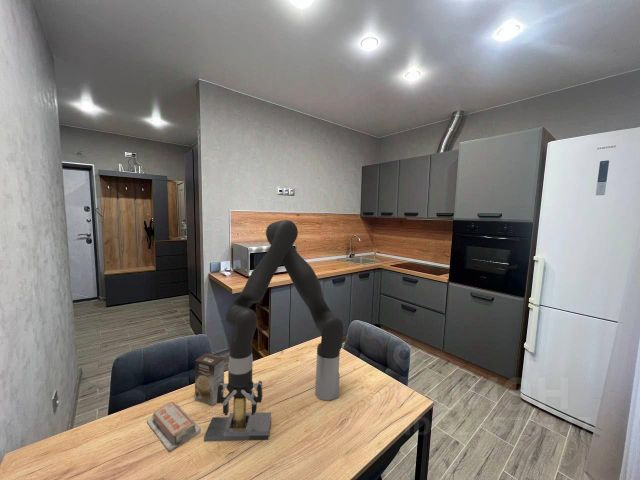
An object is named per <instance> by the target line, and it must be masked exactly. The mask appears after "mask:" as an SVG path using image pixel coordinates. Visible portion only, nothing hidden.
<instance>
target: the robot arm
mask: <svg viewBox="0 0 640 480" xmlns="http://www.w3.org/2000/svg"><path fill="white" fill-rule="evenodd" d="M265 229H266V230H265V236H266V237H265V238H266V240H267V242H268V243H269V245H270V247H269V248H268V250H267V252H266V253H265V254H264V256H263V258H262V259H261V260H259V262H258V263H257V265H256V266H255V268H253V270H252V272H251V273H250V275H249V277H248V279H247V281H246V283H245V285H244V287H243V290H242V291H241V292H240V293H239V294H238V295H237V296H236V297H235V299H234V300H233V301H232V303H231V304H230V305H229V307H228V308H227V311H226V315H225V321H226V323H227V324H228V325H229V326H231V327H232V328H234V329H236V333H235V334H233V335H232V336H231V337H230V339H229V350H228V351H229V357H228V365H227V367H228V376H227V377H228V380H227V383H225V381H224V382H220V384H219V386H218V392H217V403H216V404H222V414H224V416H225V417H228V415H229V411H230V406H229V405H230V401H231V400H232V399H233V398H234V397H235V398H239V397H240V398H244V397H246V400H247V401H248V402H250V403H251V412H250V413H251V415H254V413H257V408H258V404H259V403H262V400H263V396H264V395H263V382H262V380H258V382H254V381H253V364H254V363H253V362H254V361H253V338H254V337H255V332H256V329H257V327H258V317H257V313H256V312H255V310H254V309H251V308H250V307H252V305H253V304H255V303H260V302H261V301H262V300H263V298H264V296H265V294H266V292H267V290H268V287H269V286H270V284H271V282H272V280H273V277H274V276H275V273H276V271H277V270H278V268H279V267H280V265H281V263H282V265H283V267H284V269H285V271H286V272H287V274H288V276H289V278H290V280H291V282H292V284H293V286H294V288H295V289H296V291H297V293H298V295H299V296H300V298H301V299H302V301H303V302H304V304H305V305H306V307H307V308H308V311H309V312H310V314H311V317H312V320H313V322H314V325H315V327H316V329H317V332H319V333H320V334H321V341H320V342H319V343H318V344H317V346H316V347H317V348H316V366H315V367H316V368H315V388H314V389H315V391H314V393H315V396H316V397H317V398H318V399H319V400H321V401H333V400H335V399H339V397H340V396H339V394H340V379H341V377H340V372H339V371H340V355H341V349H342V346H343V338H344V323H343V321H342V319H341V318H340V317H338V316H337V315H335V313H333V312H332V310H331V309H330V307H329V306H328V304H327V302H326V301H325V299H324V294H323V290H322V285H321V282H320V280H319V278H318V277H317V275H316V272H315V271H314V268H313V267H312V266H311V265H310V264H309V262H307V261H306V260H305V259H304V258H303V257H302V256H301V255H300V253H298V252H297V250H296V248H295V246H294V244H295V243H296V241H297V238H298V235H299V233H298V232H299V231H298V227H297V225H296V223H295V222H293V221H292V220H288V219H284V220H278V221H275V222H271V223H269V225H267V227H266V228H265ZM226 389H227V390H226ZM253 389H255V391H256V392H257V396H256V394H255V392H254V390H253ZM225 390H226V391H228V393H227V394H226V396H223V391H225Z"/></svg>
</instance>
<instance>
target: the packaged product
mask: <svg viewBox="0 0 640 480" xmlns="http://www.w3.org/2000/svg"><path fill="white" fill-rule="evenodd" d="M146 423H147V424H148V426H149V427H150V428H151V429H152V430H153V432H154V434H155V435H156V436H157V438H158V439H159V441H160V442H161V443H162V444H163V446H164V447H165V449H166V450H167V451H168V452H169V453H170V452H172V451H174V450H176V449H177V448H179V447H180V446H182V445H184V444H185V443H186V442H188V441H190V440H191V439H193V438H194V437H196V436H198V435H199V434H200V433H201V429H202V428H201V427H200V426H199V425H198V424H197V423H196V422H195V421H194V420H193V419H192V418H191V417H190V416H189V414H187V413H186V412H185V411H184V409H183V408H182V407H181V406H180V405H179V404H178V403H175V402H174V401H170V402H167V403H165V404H163V405H162V406H161V407H160V408H158V409H156V410H155V411H153V414H152V417H150V418H149V419H146Z"/></svg>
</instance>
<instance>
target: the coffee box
mask: <svg viewBox="0 0 640 480" xmlns="http://www.w3.org/2000/svg"><path fill="white" fill-rule="evenodd" d="M194 362H195V364H194V365H195V368H194V369H195V371H194V401H195V400H196V401H197V402H201V403H203V404H206V405H208V406H212V407H213V406H215V405H216V404H218V403H217V392H218V386H219V384H220V382H224V383H225V357H224V356H220V355H217V354H214V353H210V352H206V353H204V354H203V355H201V356H199V357H198V358H197V359H195V361H194ZM224 391H225V390H224ZM224 391H223V397H225V396H224V395H225V394H224Z"/></svg>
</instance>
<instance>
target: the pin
mask: <svg viewBox="0 0 640 480" xmlns="http://www.w3.org/2000/svg"><path fill="white" fill-rule="evenodd" d="M232 408H233V411H232V413H233V426H232V429H236V428H246V427H247V424H246V413H247V398H246V397H244V398H240V397H239V398H235V397H233V407H232Z"/></svg>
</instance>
